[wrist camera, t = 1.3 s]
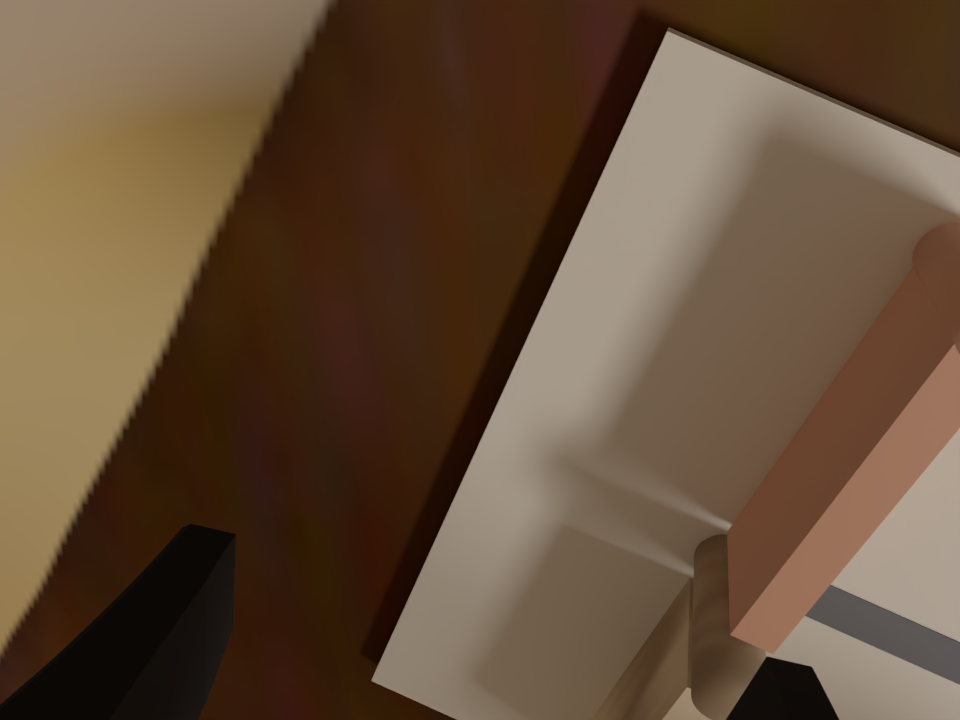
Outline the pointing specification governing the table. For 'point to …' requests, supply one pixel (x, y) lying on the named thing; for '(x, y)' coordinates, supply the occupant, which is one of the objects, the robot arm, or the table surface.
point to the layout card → (693, 409)
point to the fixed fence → (689, 653)
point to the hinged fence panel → (852, 451)
